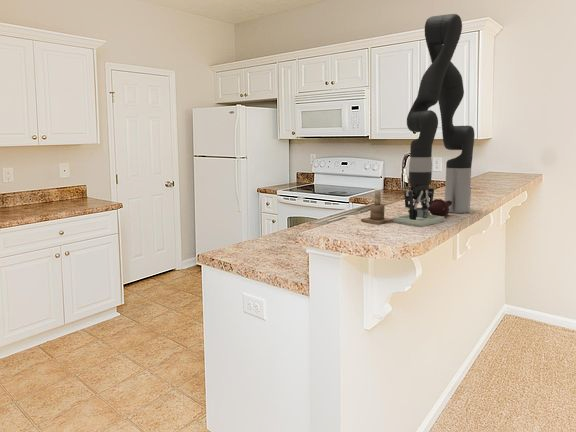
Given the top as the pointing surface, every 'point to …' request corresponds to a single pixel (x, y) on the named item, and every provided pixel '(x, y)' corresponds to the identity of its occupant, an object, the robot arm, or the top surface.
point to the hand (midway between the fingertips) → (418, 218)
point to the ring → (421, 212)
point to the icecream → (439, 207)
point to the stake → (377, 212)
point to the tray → (418, 220)
